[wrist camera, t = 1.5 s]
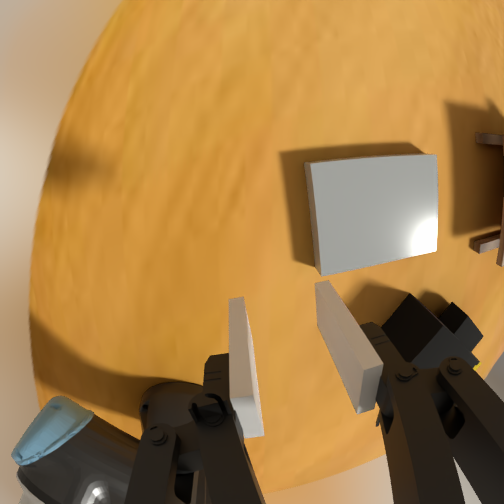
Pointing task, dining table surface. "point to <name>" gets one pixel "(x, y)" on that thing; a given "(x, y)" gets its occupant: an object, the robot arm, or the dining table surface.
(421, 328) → the toy
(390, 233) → the tile
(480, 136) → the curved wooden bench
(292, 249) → the dining table surface
